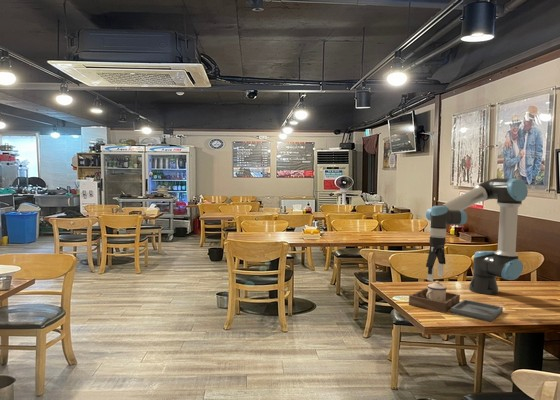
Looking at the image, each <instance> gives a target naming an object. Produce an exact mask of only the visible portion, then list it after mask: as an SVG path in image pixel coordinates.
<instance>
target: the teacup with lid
mask: <svg viewBox="0 0 560 400" xmlns="http://www.w3.org/2000/svg"><path fill="white" fill-rule="evenodd" d="M427 289H428V292H427V294H426V297H425V298H426V299H429V300H434V301H439V302H446V292H447V289H448V288H447V285H443V284H442V283H441V282H440V281H439V280H435V282H433V283H429V284H427Z"/></svg>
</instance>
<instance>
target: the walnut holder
mask: <svg viewBox="0 0 560 400" xmlns="http://www.w3.org/2000/svg"><path fill="white" fill-rule="evenodd" d="M427 292H428V287H425V288H423V289H420V290H418V291H416V292H414V293H412V294H410V295H409V296H408V305H409V306H413V307H417V308H422V309H427V310H430V311H436V312H440V313H444V314H445V313H447V312H449V311H451V307H453V306H455V305H456V304H458V303H459V302H461V301H460V300H461V298H460V297H461V295H460V294H458V293H451V292H447V291H446V301H445V302H439V301H434V300H429V299H427V297H426V294H427Z"/></svg>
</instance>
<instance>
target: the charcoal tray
mask: <svg viewBox="0 0 560 400" xmlns="http://www.w3.org/2000/svg"><path fill="white" fill-rule="evenodd" d="M503 308H504V307H503V306H499V305H495V304H489V303H484V302H478V301H475V300H469V299H462V300H461V301H460V302H459V303H458V304H456V305H455V306H453V307H451V309H450V314H454V315H457V316H462V317H466V318H471V319H475V320H479V321H485V322H490V323H493V322H494V321H495V320H496V319H497V318H498V317H499V316H501V314H502V313H503V311H504V309H503Z"/></svg>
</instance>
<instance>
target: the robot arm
mask: <svg viewBox="0 0 560 400" xmlns="http://www.w3.org/2000/svg"><path fill="white" fill-rule="evenodd" d="M528 191H529V190H528V185H527V184H526V183H525V181H523V180H522V179H519V178H513V177H512V178H503V177H502V178H500V177H499V178H496V177H495V178H491V179H488V180H485V181H483V182H481V183H479V184H477V185H475V186H474V187H473V188H472V189H471V190H469V191H467V192H464V193H463V194H461V195H459V196H457V197H455V198H454V199H451V200H449V201H447V202H445V203H443V204H442V205H432V207H429V208H428V209H427V210H426V212H425V217H426V219H427V220H428V221H429V222H430V228H429V236H430V237H429V241H428V242H429V244H430V245H432V246H430V247H429V251H428V255H427V259H426V263H425V268H427V273H426V274H427V275H426V277H427V278H426V280H427V281H430V282H433V281H434V274H435V273H434V272H435V268H434V266H435V263H436V259H437V262H438V263H437V269H436V272H437V273H436V276H437V277H440V278H443V277H444V265H446V264H447V263H446V255H445V245H446V237H447V226H463V225H465V224H466V223H467V221H468V215H467V213H466V211H464V210H466V209H468V208H469V207H472V206H473V205H475V204H478V203H479V202H486V201H488V200H496V203H497V205H499V220H498V221H499V222H498V238H497V239H498V240H497V250H495V251H494V250H478V251H475V252H474V256H473V271H472V274H473V275H472V278H471V280H470V283H469V286H468V287H469V288H468V290H470V291H471V292H473V293H477V294H483V295H497V294H499V286H498V283H497V279H496V277H498V278H501V279H504V280H509V281H513V280H517V279H518V278H519V277H520V276H521V275H522V273H523V270H524V265H523V264H524V263H523V262H522V260H520V259H519V254H518V253H517V252H516V249H517V248H516V247H517V232H518V216H519V215H518V213H519V207H520V206H521V205H522V202H523V201H525V200H526V198H527V197H528V193H529V192H528Z"/></svg>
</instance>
